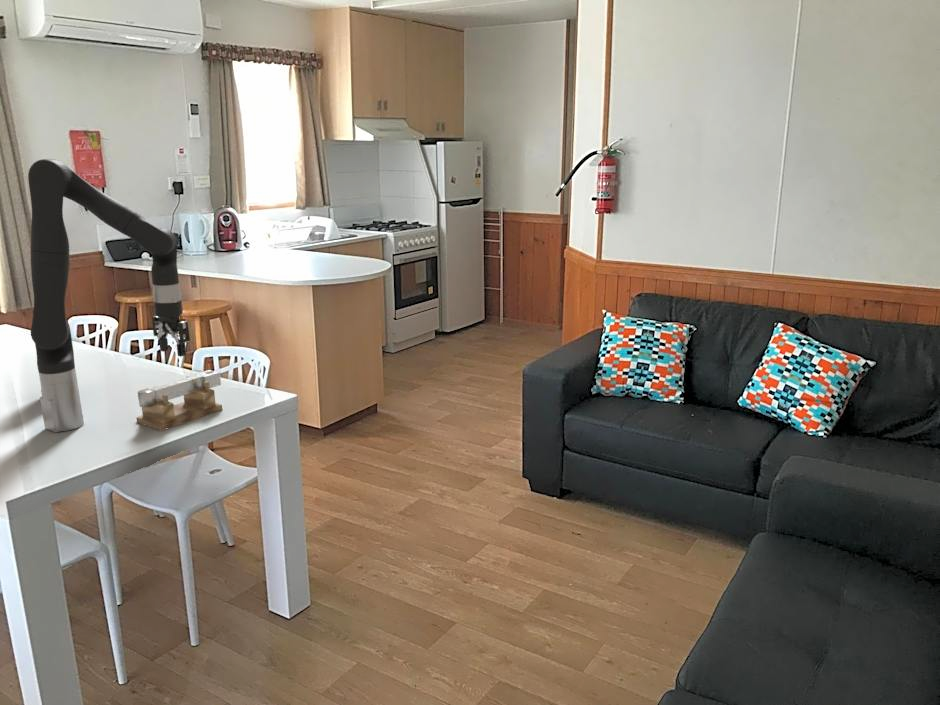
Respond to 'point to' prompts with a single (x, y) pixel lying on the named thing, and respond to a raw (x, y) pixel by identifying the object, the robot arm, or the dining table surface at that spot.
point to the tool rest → (180, 409)
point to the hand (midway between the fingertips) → (173, 353)
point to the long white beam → (178, 388)
